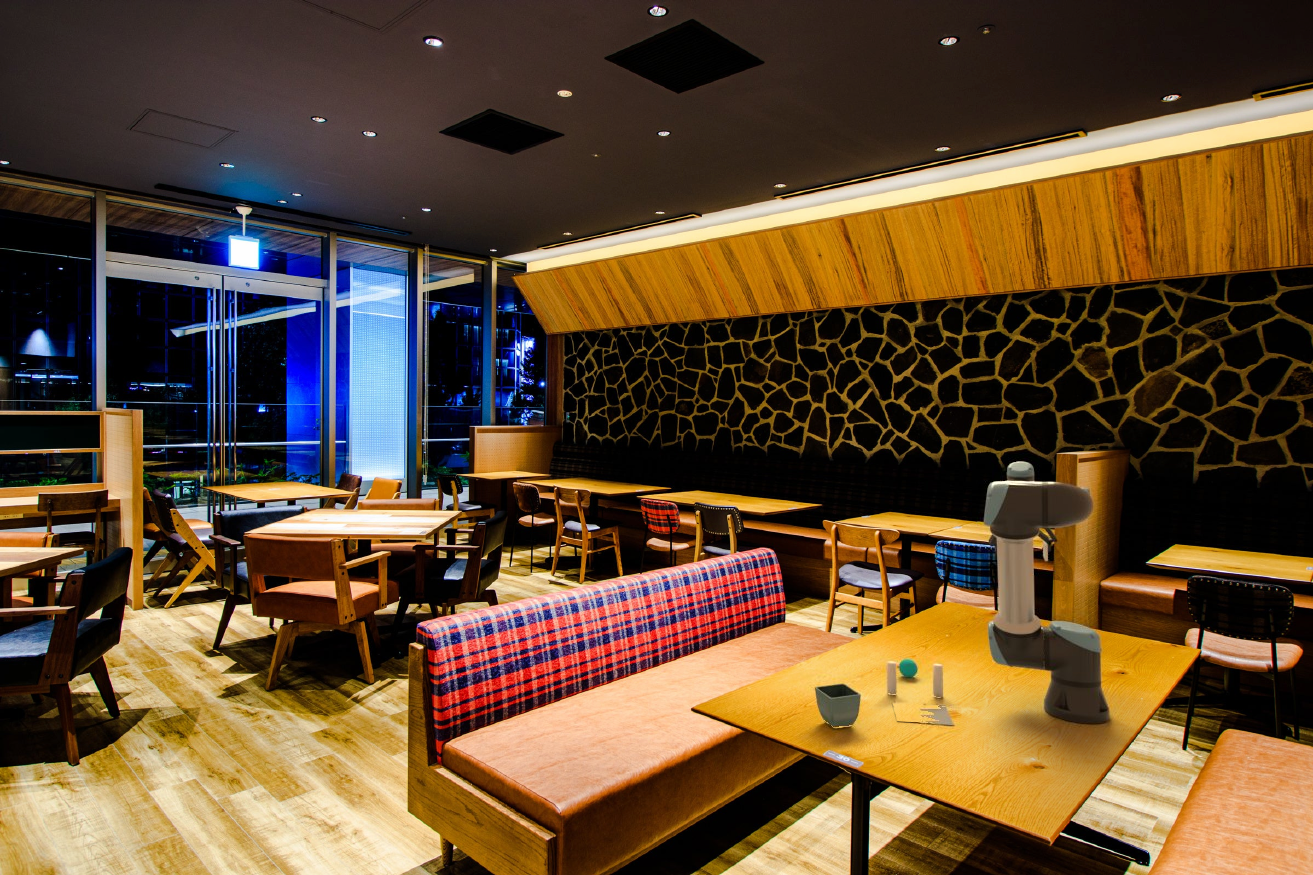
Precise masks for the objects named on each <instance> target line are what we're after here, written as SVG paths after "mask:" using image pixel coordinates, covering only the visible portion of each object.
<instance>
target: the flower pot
mask: <svg viewBox="0 0 1313 875" xmlns="http://www.w3.org/2000/svg"><path fill="white" fill-rule="evenodd" d="M814 691H815V697H816V704H817V705H816V706H817V709H818V711H819V714H820V716H821V718H822V719H823V721H824V720H825V721H826V722H828V723H829V724H830V725H832V726H833V727H839V726H849V725H852V726H854V725H855V724H854V723H855V722H856V721H857V719H858V716H859V713H860V708H861V706H860V705H861V697H862V694H861V693H860V692H858V691H856V690H855V689H853V688H852V687H850V686H848V685H847V684H846V683H836V684H835V683H834V684H828V685H821V686H815V687H814ZM825 721H824V722H825ZM826 722H825V723H826ZM830 725H829V726H830Z"/></svg>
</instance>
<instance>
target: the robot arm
mask: <svg viewBox="0 0 1313 875" xmlns="http://www.w3.org/2000/svg"><path fill="white" fill-rule="evenodd" d="M1006 478H1007V480H1005V481H1003V480H1002V481H1001V480H1000V481H993V482H990V483H989V485H988V487H987V492H986V498H985V499H986V500H985V507H984V516H983V525H985V526H987V527H989V531H990V534H991V535H990V537H989V539H988V544H989V546H990V547H994V553H995V555H996V556H997V557H996V558H997V559H996V560H997V583H998V584H997V585H998V586H997V587H998V612H997V613H995V615H994V616H993V620H989V621H988V624H987V635H988V646H989V651H990V654H991V658H992V660H993V662H995V663H996V664H997V665H1001V666H1006V667H1011V668H1014V667H1015V668H1020V669H1021V668H1023V669H1032V670H1037V671H1038V670H1039V671H1047V672H1050V682H1049V685H1048V688H1047V690H1046V694H1045V695H1044V699H1043V709H1044V711H1045V712H1046V713H1047V714H1049V715H1051V716H1053V717H1055V718H1058V719H1060V720H1064V721H1068V722H1072V723H1080V724H1086V725H1087V724H1088V725H1089V724H1091V725H1093V724H1103V723H1106V722H1109V720H1110V716H1111V715H1110V708H1109V704H1108V702H1107V699H1106V697H1105V694H1104V690H1103V688H1102V661H1101V660H1102V659H1101V658H1102V657H1101V656H1102V654H1101V653H1102V652H1103V650H1102V647H1101V646H1102V644H1101V637H1100V634H1099V633H1098V632H1097V631H1096V630H1095V629H1093V628H1091V627H1088V626H1086V625H1082V624H1079V623H1076V622H1070V621H1064V620H1060V621H1059V620H1052V621H1051V622H1050V623H1049V626H1045V625H1042V622H1041V619H1040V618H1039V617H1038V616H1037V615H1035V575H1034V572H1035V571H1034V567H1035V566H1034V563H1035V562H1034V539H1035V538H1037V537H1038V538H1040V539H1041V540H1042V550H1043V551H1042V553H1043V554H1042V557H1043V560H1044V562H1048V561H1049V559H1048V558H1049V557H1048V556H1049V554H1048V553H1049V552H1051V551H1052V546H1053V543H1057V542H1058V541H1059V540H1058V538H1057V537H1056V534H1055V533H1054V531H1053V530H1052V529H1057V528H1058V529H1060V528H1065V527H1070V526H1073V525H1077V524H1081V523H1082V522H1084V521H1086V520H1087V519H1089V517H1090V516H1091V514H1092V513H1093V510H1094V501H1093V497H1092V496H1091V490H1090V489H1089V488H1088V487H1082V486H1077V485H1073V484H1069V483H1063V482H1056V481H1035V470H1034V466H1033V465H1032V464H1031V463H1030V462H1026V461H1016V462H1012V463H1009V465H1008V466H1007V472H1006ZM1040 528H1043V529H1044V530H1045V532H1046V533H1047V534H1048V535H1047V534H1045V533H1044V532H1043V531H1042V530H1041V529H1040Z"/></svg>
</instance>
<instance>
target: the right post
mask: <svg viewBox="0 0 1313 875" xmlns="http://www.w3.org/2000/svg"><path fill="white" fill-rule="evenodd" d="M943 668H944V665H943V664H940V663H933V664H932V684H933V685H932V686H933V687H932V688H933V689H932V690H933V691H932V692H933V693H932V694H933V695H934V696H936V697H943V698H944V671H943V670H944V669H943ZM933 695H932V696H933Z"/></svg>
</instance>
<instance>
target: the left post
mask: <svg viewBox="0 0 1313 875" xmlns="http://www.w3.org/2000/svg"><path fill="white" fill-rule="evenodd" d="M897 686H898V685H897V662H896V661H892V660H891V661H886V694H887V693H890V694H896V693H897V688H898V687H897ZM897 694H898V693H897Z"/></svg>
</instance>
